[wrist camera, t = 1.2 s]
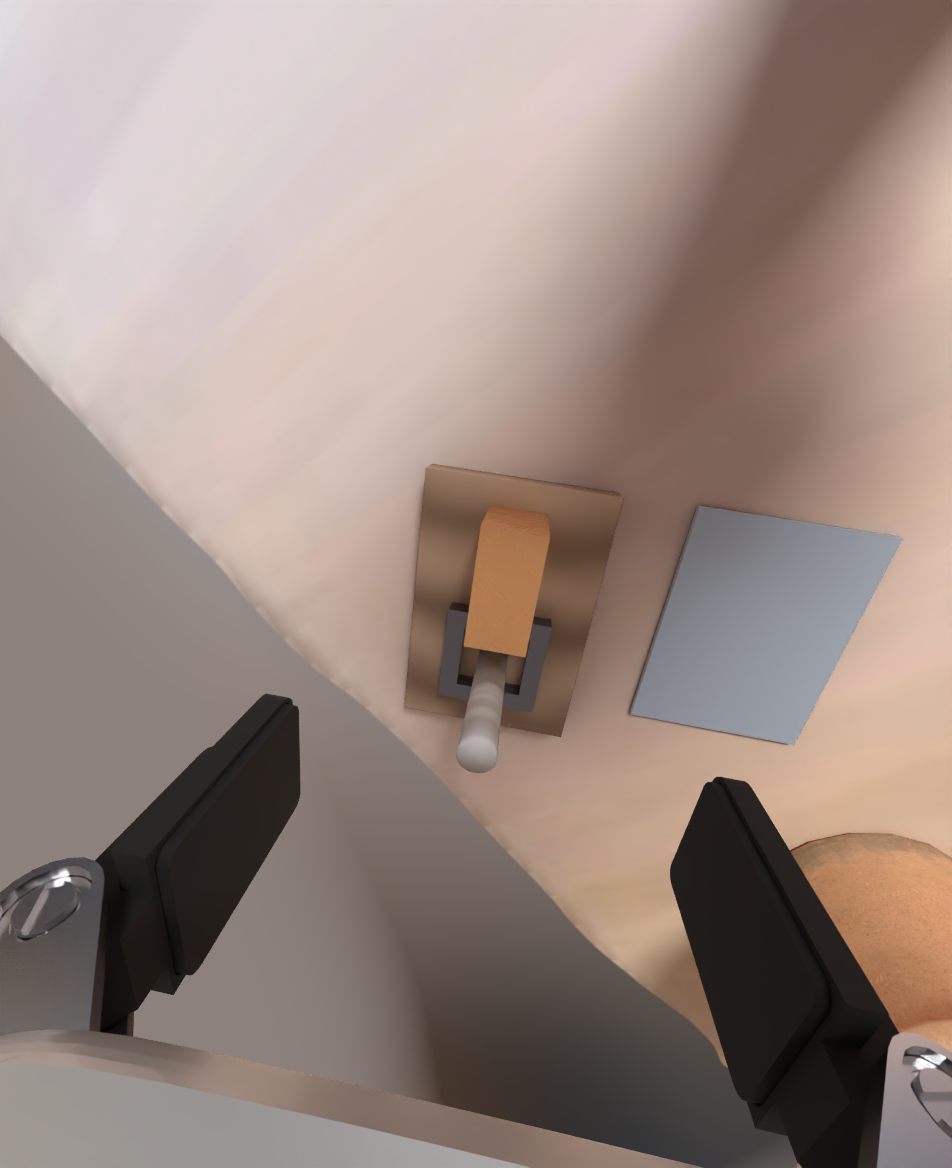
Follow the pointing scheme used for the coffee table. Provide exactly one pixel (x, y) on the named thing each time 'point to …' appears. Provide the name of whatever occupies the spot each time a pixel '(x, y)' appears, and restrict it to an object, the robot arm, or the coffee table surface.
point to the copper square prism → (502, 605)
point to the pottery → (892, 921)
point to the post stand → (564, 597)
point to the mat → (757, 621)
